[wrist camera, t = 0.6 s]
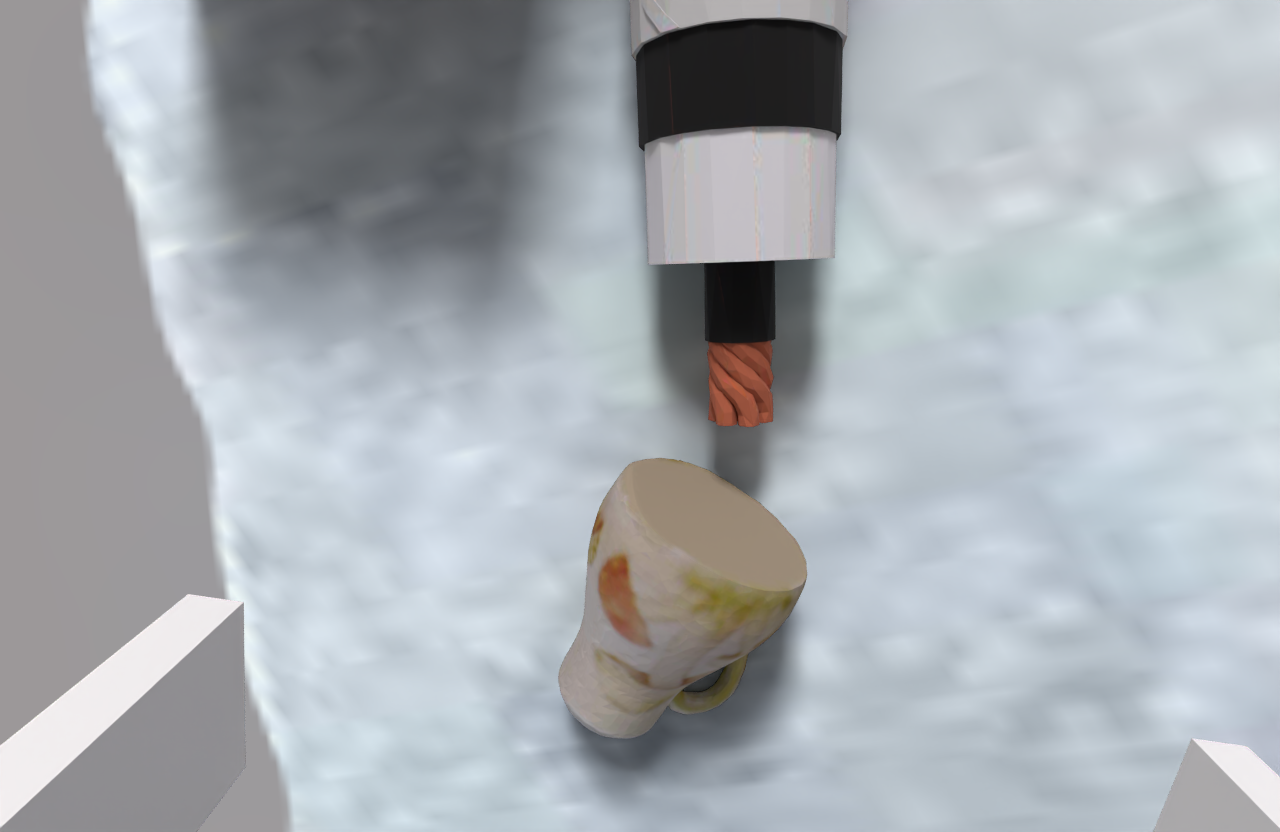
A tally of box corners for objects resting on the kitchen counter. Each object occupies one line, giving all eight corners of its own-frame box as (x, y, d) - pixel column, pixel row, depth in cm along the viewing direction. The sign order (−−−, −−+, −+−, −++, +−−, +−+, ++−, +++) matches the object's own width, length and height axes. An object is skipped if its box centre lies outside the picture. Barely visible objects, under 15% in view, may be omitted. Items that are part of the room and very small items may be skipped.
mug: (513, 672, 29) (473, 636, 20) (652, 482, 32) (672, 378, 23) (670, 793, 27) (705, 814, 18) (798, 580, 31) (880, 510, 22)
